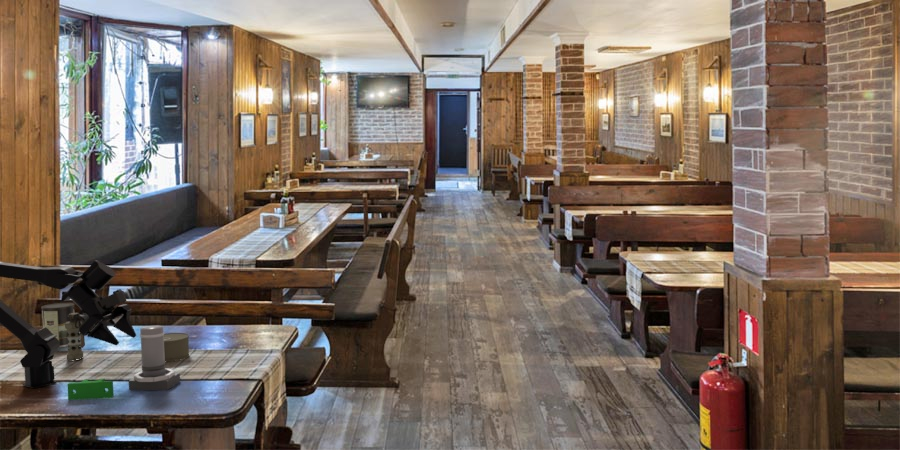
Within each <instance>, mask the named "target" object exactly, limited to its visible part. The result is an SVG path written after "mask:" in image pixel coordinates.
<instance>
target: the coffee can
mask: <svg viewBox="0 0 900 450" xmlns="http://www.w3.org/2000/svg"><path fill="white" fill-rule="evenodd" d="M75 305H76V304H75V303H74V302H57V303H49V304H45V305H42V306H41V307H40V309H41V318H42V329H43V328H45V327H46V328H47V329H49V331H50V332H51V333H53V334H54V335H57V337H56V338H57V339H58V340H59V342H60V343H59V345H60V347H59V349H60V348H66V347H67V348H68V340H67V329H66V328H65V323H66V322H69V321H70V317H68V315H69V314H71V313H76V312H75ZM68 335H69V334H68Z"/></svg>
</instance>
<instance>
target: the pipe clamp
mask: <svg viewBox="0 0 900 450" xmlns="http://www.w3.org/2000/svg"><path fill="white" fill-rule="evenodd" d="M66 386H67V397H68V398H67V399H68V401H71V400H72V401H73V400H91V399H92V400H93V399H96V400H97V399H113V397H114V381H113V380H105V378H101V379H98V380H88V379H83V380H82V381H80V382H68V383H67V385H66ZM74 391H75V392H74Z"/></svg>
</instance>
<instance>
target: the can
mask: <svg viewBox="0 0 900 450" xmlns="http://www.w3.org/2000/svg"><path fill="white" fill-rule="evenodd" d="M189 338H190V335H189V333H184V332H169V333H164V353H165V361H173V362H176V361H175V360H179V361H181V360H180V359H183V360H185V359H187V358H186V357H188V356H190V349H189V348H190V345H189V344H190V343H189V341H190V340H189ZM184 358H185V359H184ZM188 358H189V357H188Z"/></svg>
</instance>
